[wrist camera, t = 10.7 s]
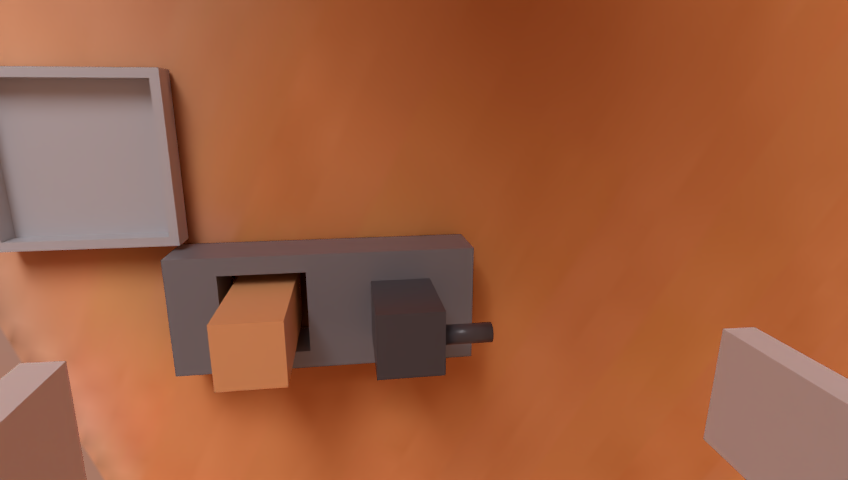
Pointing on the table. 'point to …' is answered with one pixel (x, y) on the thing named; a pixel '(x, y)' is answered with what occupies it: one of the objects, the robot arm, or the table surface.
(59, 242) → the tray
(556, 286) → the table surface
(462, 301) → the strip
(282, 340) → the plug
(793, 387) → the robot arm
